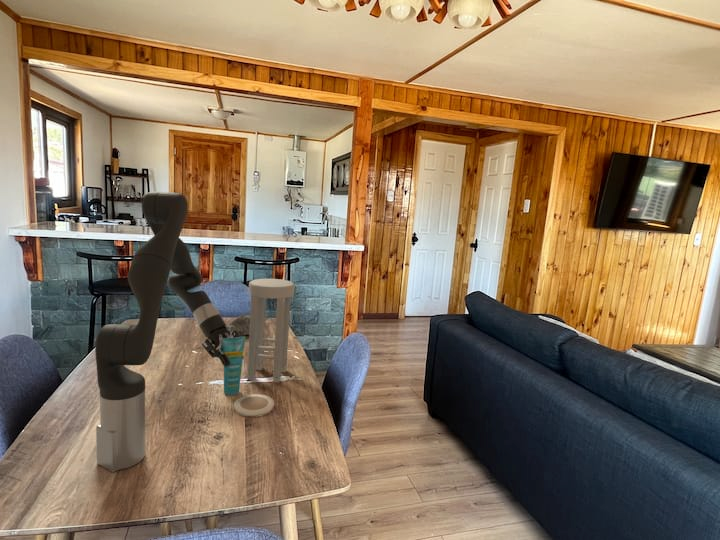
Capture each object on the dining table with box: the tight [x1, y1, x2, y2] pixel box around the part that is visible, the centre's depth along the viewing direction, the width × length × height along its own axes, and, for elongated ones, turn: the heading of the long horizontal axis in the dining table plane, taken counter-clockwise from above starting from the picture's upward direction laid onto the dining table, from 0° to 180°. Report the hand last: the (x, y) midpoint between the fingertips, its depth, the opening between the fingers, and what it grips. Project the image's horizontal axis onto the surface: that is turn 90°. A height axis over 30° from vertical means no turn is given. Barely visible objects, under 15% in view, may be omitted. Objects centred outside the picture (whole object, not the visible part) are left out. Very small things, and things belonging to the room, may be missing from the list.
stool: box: [247, 278, 296, 384], centre depth 149 cm, size 16×16×35 cm
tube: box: [222, 335, 247, 396], centre depth 135 cm, size 7×5×19 cm, turn 124°
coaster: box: [233, 393, 275, 417], centre depth 128 cm, size 12×12×1 cm
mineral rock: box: [226, 313, 250, 337], centre depth 192 cm, size 13×11×10 cm
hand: (234, 362), depth 134 cm, fingers closed on tube, 5 cm apart
